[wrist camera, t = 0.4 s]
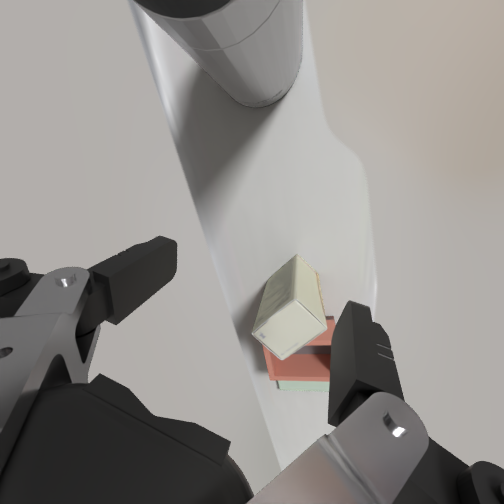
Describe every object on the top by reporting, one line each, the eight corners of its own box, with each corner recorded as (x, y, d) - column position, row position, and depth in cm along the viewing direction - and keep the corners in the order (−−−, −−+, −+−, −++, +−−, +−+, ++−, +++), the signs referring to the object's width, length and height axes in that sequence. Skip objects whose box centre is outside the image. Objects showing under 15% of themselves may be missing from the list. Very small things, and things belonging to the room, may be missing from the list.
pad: (274, 359, 39) (274, 363, 38) (337, 359, 36) (338, 363, 35) (280, 386, 40) (280, 390, 40) (340, 387, 38) (341, 392, 37)
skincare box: (287, 298, 34) (281, 363, 23) (266, 279, 34) (248, 335, 23) (320, 272, 32) (330, 330, 21) (297, 251, 31) (295, 298, 20)
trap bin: (266, 319, 36) (261, 341, 31) (333, 316, 34) (338, 339, 29) (273, 354, 38) (270, 380, 34) (337, 354, 36) (342, 382, 31)
